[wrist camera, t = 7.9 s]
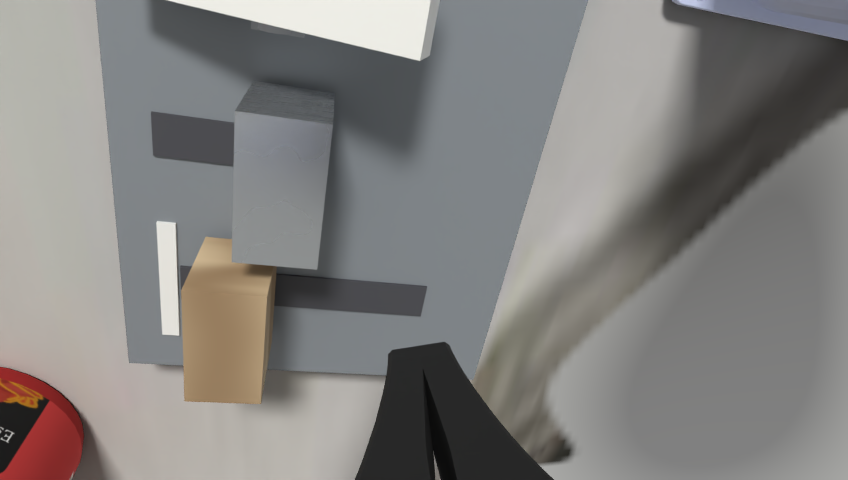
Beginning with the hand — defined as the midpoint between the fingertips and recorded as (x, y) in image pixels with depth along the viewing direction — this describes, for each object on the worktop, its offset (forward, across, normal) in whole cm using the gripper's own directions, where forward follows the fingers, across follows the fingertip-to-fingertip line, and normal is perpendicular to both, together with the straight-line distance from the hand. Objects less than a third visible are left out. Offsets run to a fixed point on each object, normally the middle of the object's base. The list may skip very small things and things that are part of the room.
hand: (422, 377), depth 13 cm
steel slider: (+8, +3, -3) cm, 9 cm away
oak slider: (+8, +6, +2) cm, 10 cm away
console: (+10, +2, -3) cm, 10 cm away
